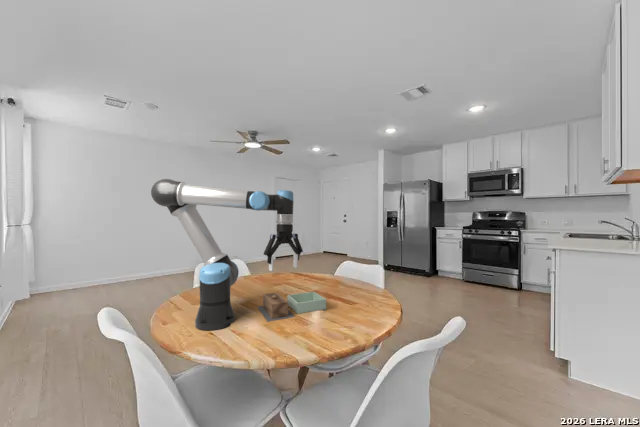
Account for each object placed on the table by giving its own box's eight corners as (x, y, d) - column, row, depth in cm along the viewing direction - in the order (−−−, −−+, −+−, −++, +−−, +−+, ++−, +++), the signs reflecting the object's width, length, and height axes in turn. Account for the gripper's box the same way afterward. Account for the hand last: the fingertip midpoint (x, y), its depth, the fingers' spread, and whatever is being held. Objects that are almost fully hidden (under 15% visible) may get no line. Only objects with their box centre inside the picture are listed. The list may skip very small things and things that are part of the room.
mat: (267, 323, 111) (267, 321, 111) (256, 307, 129) (256, 306, 129) (295, 318, 116) (295, 316, 116) (281, 304, 134) (281, 302, 134)
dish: (297, 315, 119) (297, 303, 119) (287, 305, 132) (287, 295, 132) (326, 310, 125) (326, 299, 125) (313, 301, 138) (313, 291, 138)
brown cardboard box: (272, 318, 113) (272, 302, 113) (263, 307, 128) (263, 292, 128) (288, 316, 116) (288, 299, 116) (277, 304, 131) (277, 290, 131)
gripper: (265, 224, 117) (263, 273, 117) (310, 223, 133) (309, 267, 133) (256, 223, 122) (255, 270, 122) (301, 223, 139) (300, 265, 139)
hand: (283, 269), depth 128 cm, fingers open, 13 cm apart
